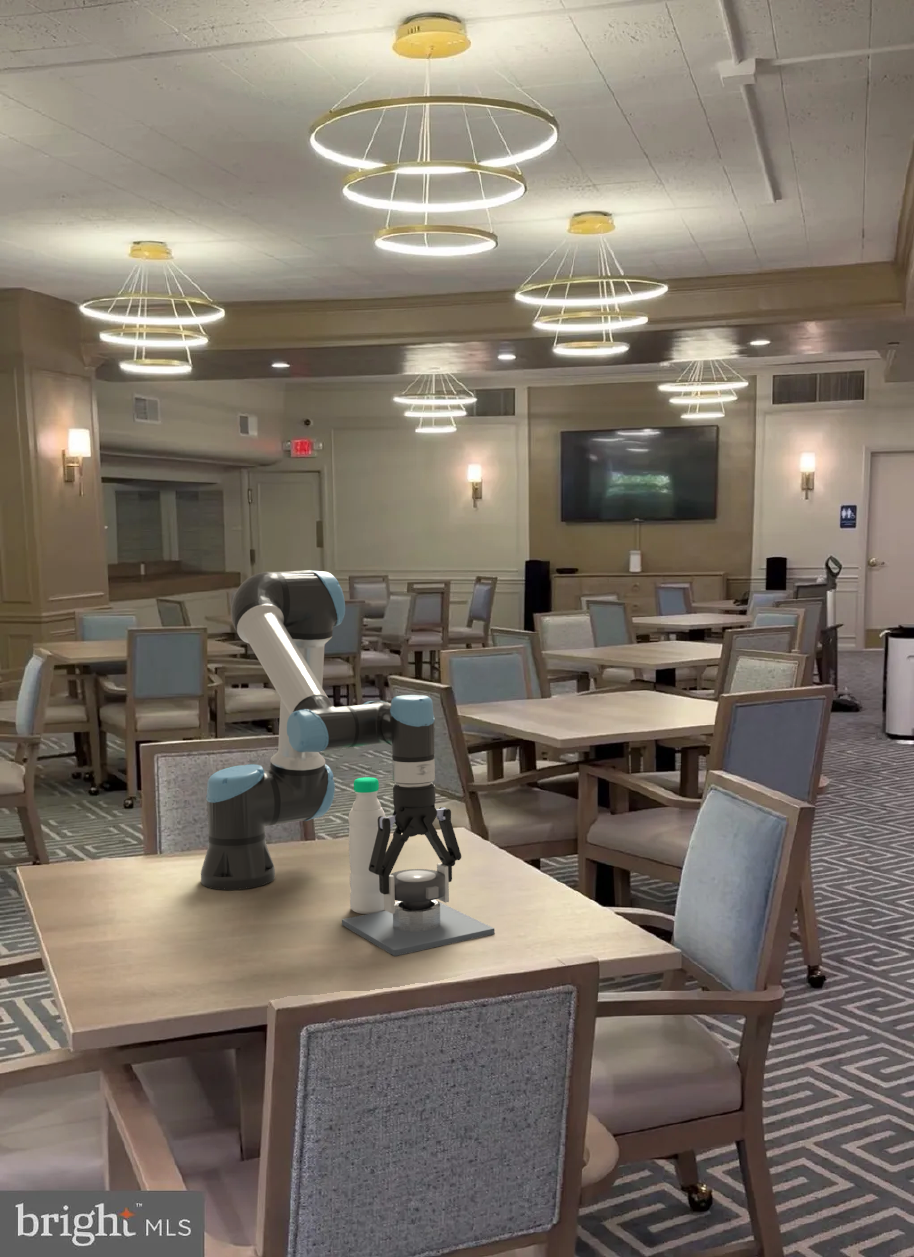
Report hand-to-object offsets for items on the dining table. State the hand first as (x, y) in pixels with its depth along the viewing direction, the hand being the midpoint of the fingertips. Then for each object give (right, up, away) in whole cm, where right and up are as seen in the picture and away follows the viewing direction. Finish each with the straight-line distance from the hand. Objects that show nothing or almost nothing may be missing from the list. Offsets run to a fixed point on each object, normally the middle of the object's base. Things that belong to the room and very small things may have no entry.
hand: (416, 905), depth 203 cm
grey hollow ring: (0, -4, 0) cm, 4 cm away
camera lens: (0, 0, 0) cm, 0 cm away
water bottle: (-9, -4, +13) cm, 16 cm away
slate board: (0, -4, 0) cm, 4 cm away
